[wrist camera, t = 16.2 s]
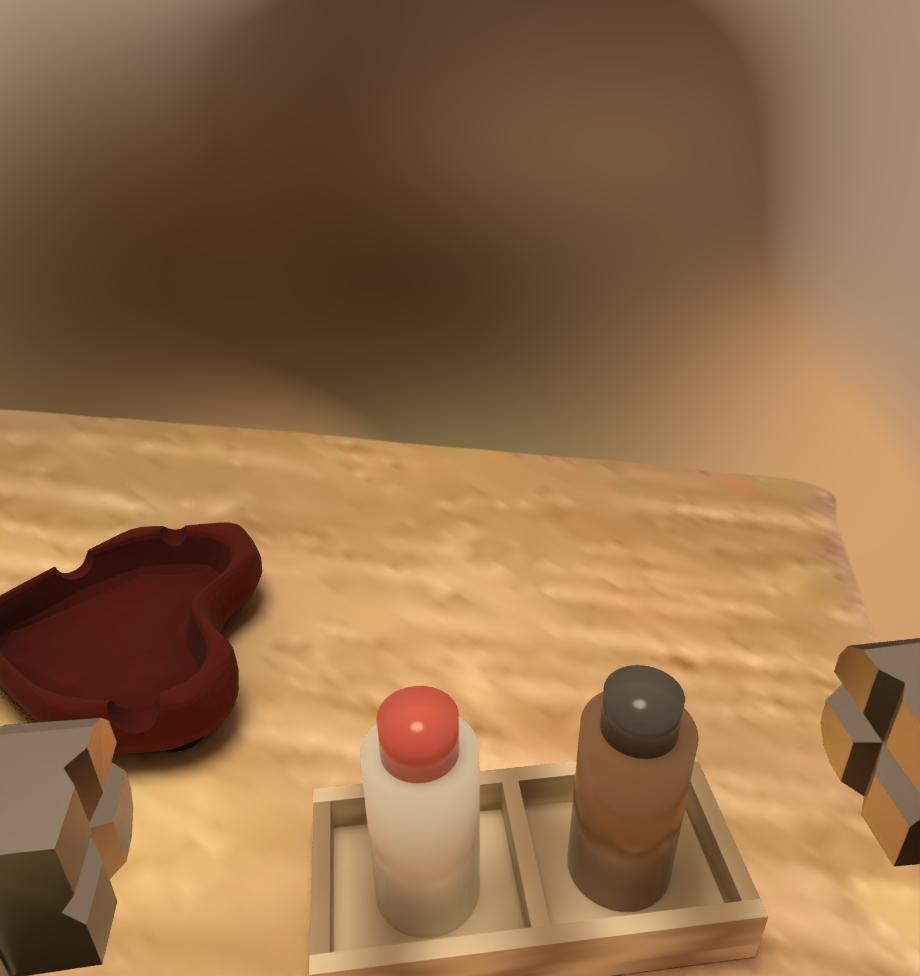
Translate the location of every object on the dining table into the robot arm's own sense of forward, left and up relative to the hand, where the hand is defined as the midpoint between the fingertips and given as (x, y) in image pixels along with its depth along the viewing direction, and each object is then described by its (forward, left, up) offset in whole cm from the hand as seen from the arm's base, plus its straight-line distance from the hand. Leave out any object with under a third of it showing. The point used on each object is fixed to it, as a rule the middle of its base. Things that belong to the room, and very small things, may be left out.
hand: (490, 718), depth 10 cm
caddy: (+4, +17, -30) cm, 35 cm away
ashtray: (-17, +35, -30) cm, 50 cm away
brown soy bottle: (+9, +17, -29) cm, 35 cm away
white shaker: (0, +17, -29) cm, 34 cm away
